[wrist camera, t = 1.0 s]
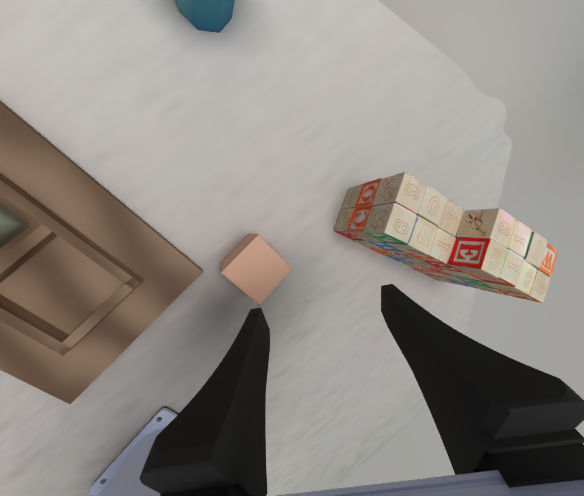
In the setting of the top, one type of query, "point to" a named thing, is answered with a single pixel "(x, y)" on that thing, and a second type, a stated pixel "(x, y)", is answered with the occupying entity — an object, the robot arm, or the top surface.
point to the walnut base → (72, 267)
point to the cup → (207, 13)
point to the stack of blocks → (447, 237)
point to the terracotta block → (255, 267)
